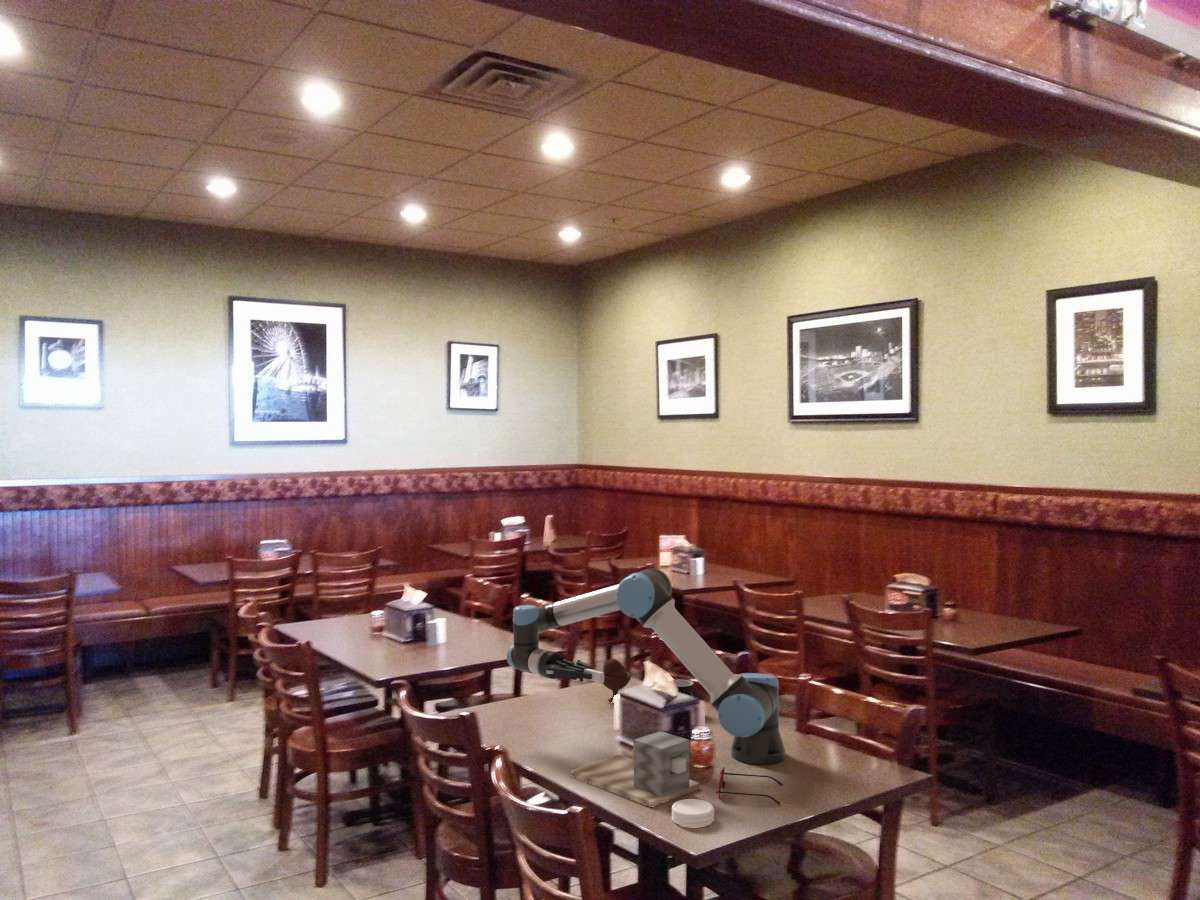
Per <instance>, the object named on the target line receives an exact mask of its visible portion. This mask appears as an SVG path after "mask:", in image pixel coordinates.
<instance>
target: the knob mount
mask: <svg viewBox="0 0 1200 900" xmlns="http://www.w3.org/2000/svg"><path fill="white" fill-rule="evenodd" d="M633 748H634V762H633V759H632V758H630V757H627V756H624V755H622V754H615V755H613V756H611V757H607V758H604V759H601V760H597V761H594V762H592V763H589V764H586V765H583V766H580V767H575V768H574V769H570V776H571V775H572V776H574V777H573V778H575V777H577V778H579V779H578V780H580V779H581V780H580V781H582V780H583V782H585V781H587V782H590V783H591V784H590V783H589V784H590V785H592V784H594V785H593V786H595V785H597V786H599V787H598V788H600V787H602V788H604V789H603V790H605V789H607V790H609V791H608V792H610V791H612V792H614V793H613V794H615V793H616V794H615V795H617V794H619V795H618V796H620V795H621V796H620V797H622V796H624V797H623V798H625V797H627V798H629V799H628V800H630V799H632V800H635V801H638V802H640V803H643V804H645V805H647V806H650V807H652V806H655V805H657V804H660V803H662V802H664V801H667V800H670V799H673V798H675V799H677V798H676V797H678V798H680V797H683V796H685V794H686V795H688V794H691V793H693V792H695V790H696V791H698V790H700V789H701V783H700V782H698V781H696V780H693V779H690V740H689V739H687V738H684V737H681V736H678V735H674V734H673V733H672V734H670V733H667V732H665V731H662V730H661V731H660V730H659V731H657V732H653V733H649V734H647V735H643V736H641V737H637V738H635V739H633ZM676 756H678V757H682V758H685V759H686V771H685V772H682V773H679V774H677V773H674V772H671V763H670V758H673V757H676ZM572 776H571V777H572ZM577 778H576V779H577ZM587 782H586V783H587ZM597 786H596V787H597ZM602 788H601V789H602ZM607 790H606V791H607ZM692 791H693V792H692ZM612 792H611V793H612ZM690 792H691V793H690ZM687 793H688V794H687ZM682 795H683V796H682ZM679 796H680V797H679ZM627 798H626V799H627ZM632 800H631V801H632ZM673 800H674V799H673ZM635 801H634V802H635ZM670 801H671V800H670ZM640 803H639V804H640ZM645 805H644V806H645ZM660 805H661V804H660ZM647 806H646V807H647ZM650 807H649V808H650ZM655 807H656V806H655Z"/></svg>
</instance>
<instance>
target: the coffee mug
mask: <svg viewBox="0 0 1200 900" xmlns="http://www.w3.org/2000/svg"><path fill="white" fill-rule="evenodd" d="M673 680H674V681H675V683H676V685H677V687H678V689H679V692H681V693H685V694H688V695H691V696H692V697H693V692H694V691H693V690H694V681H692V680H688V679H673Z"/></svg>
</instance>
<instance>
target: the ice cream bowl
mask: <svg viewBox="0 0 1200 900" xmlns="http://www.w3.org/2000/svg"><path fill="white" fill-rule="evenodd" d="M602 672H604V682H603V683H602V685H603V686H604V687H605V688H607V689H609V690H610V691H611V692H612V696H611V697H610V698H609V699H608V700H607V701H609V702H610V703H611V702H612V700H613V697H614V695H616V694H617V693H619V691H620V690H622V689H623V688H625V687H626V686H627V685H628V684H629V683H630V681H631V678H632V674H631V673H630V672H629V671H626V668H625V666H624V665H623V664H622V663H621V662H620V661H619V660H618V659H616V658H610V659H607V660H606V661H605V662H604V664H603V669H602ZM610 703H609V704H610Z"/></svg>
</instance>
